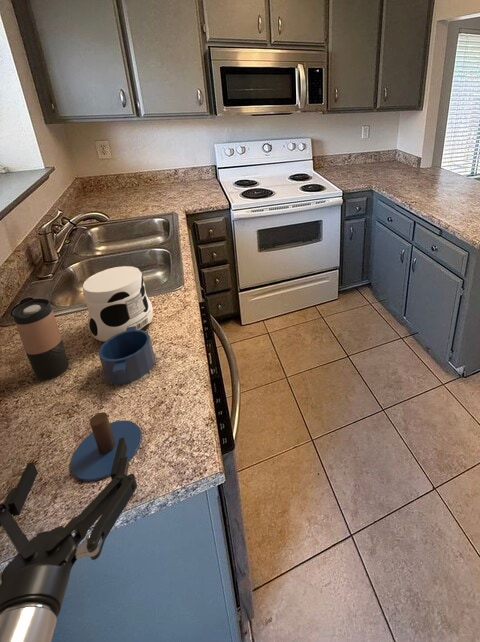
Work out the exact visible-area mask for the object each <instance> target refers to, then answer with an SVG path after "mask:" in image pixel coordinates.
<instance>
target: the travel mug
mask: <svg viewBox="0 0 480 642" xmlns="http://www.w3.org/2000/svg"><path fill="white" fill-rule="evenodd" d="M52 307H53V306H52V304H51V302H50V300H49V299H47V298H37V299H32V300H29V301H25V302H24V303H22V304H20V305H18V306H16V307H15V308H13V310H12V312H11V315H12V318H13V321H14V323H15V326H16V330H17V332H18V336H19V337H20V341H21V343H22V346H23V349H24V352H25V354H26V356H27V359H28V362H29V364H30V366H31V369H32V371H33V373H34V375H35V378H36V379H37V380H39V381H49V380H53V379H55V378H57V377H59V376H60V375H62V374H63V373H65V371H67V370H68V368H69V358H68V355H67V352H66V349H65V344H64V340H63V338H62V334H61V331H60V329H59V325H58V322H57V320H56V316H55V314H54V310H53V308H52Z"/></svg>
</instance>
